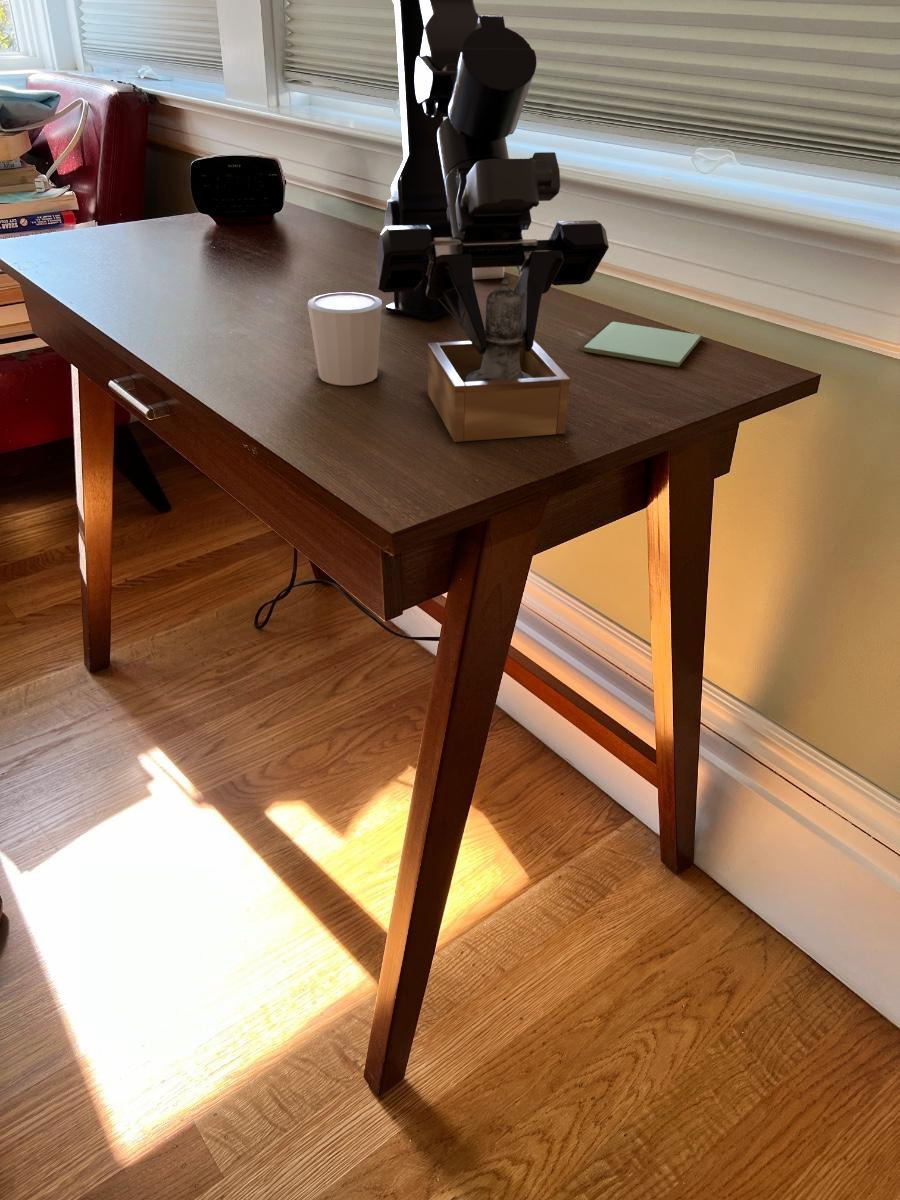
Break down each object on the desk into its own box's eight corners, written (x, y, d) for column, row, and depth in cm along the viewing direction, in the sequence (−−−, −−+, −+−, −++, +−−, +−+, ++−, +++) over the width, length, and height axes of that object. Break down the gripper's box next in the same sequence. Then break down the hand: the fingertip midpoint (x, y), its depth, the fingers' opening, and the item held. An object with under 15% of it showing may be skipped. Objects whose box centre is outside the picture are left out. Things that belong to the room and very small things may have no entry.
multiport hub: (473, 279, 117) (473, 261, 115) (447, 259, 125) (447, 241, 124) (505, 277, 118) (506, 259, 116) (477, 257, 126) (477, 240, 125)
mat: (583, 351, 94) (583, 346, 94) (611, 325, 101) (612, 321, 101) (678, 367, 90) (679, 362, 90) (700, 339, 98) (701, 334, 98)
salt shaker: (527, 436, 76) (537, 290, 69) (458, 429, 77) (462, 284, 70) (535, 410, 80) (546, 271, 74) (470, 404, 81) (475, 266, 75)
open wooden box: (427, 394, 83) (427, 342, 80) (528, 387, 85) (531, 337, 82) (453, 442, 74) (454, 386, 72) (565, 434, 76) (571, 379, 74)
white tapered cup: (355, 393, 83) (352, 316, 79) (297, 378, 86) (291, 303, 82) (398, 371, 88) (397, 298, 84) (341, 358, 91) (338, 286, 87)
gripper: (377, 111, 67) (405, 305, 64) (614, 110, 70) (650, 294, 68) (365, 204, 78) (389, 374, 75) (572, 200, 81) (601, 361, 78)
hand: (506, 350), depth 74 cm, fingers closed on salt shaker, 3 cm apart
